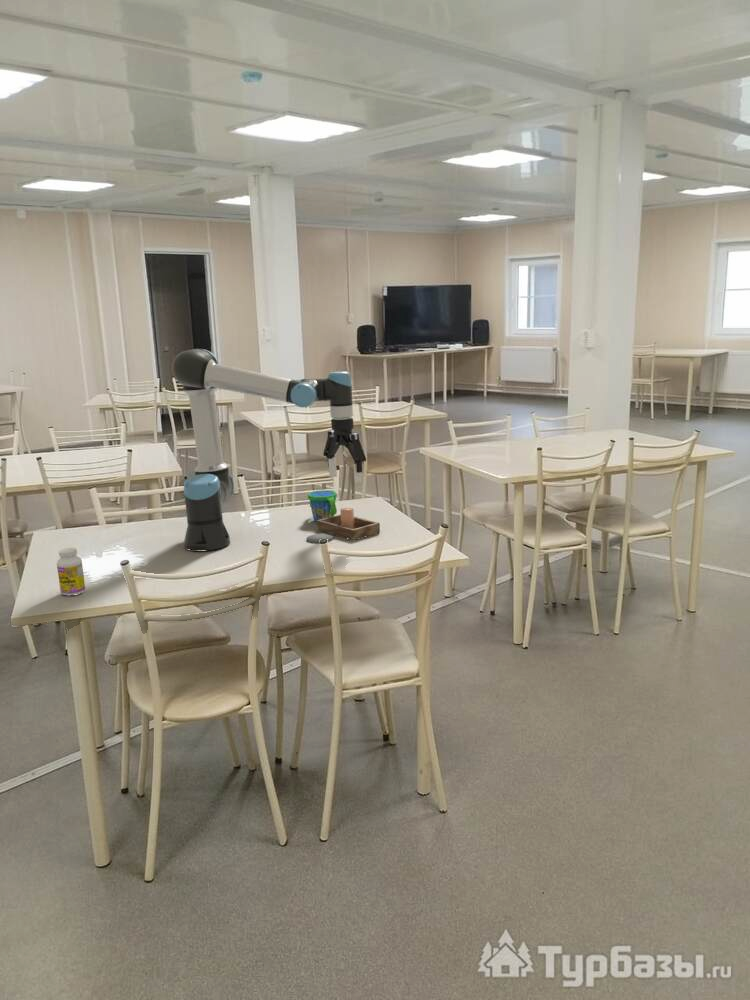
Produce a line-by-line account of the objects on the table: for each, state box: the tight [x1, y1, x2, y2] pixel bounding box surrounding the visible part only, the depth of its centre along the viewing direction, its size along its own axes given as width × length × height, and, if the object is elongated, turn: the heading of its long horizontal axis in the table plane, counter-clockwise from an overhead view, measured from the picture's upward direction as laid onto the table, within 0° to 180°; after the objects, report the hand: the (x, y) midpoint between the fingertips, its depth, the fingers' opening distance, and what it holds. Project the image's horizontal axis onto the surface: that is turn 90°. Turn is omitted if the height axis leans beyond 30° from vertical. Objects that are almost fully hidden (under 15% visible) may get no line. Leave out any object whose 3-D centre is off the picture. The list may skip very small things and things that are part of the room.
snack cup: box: [307, 489, 338, 522], centre depth 284 cm, size 16×10×10 cm
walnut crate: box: [316, 513, 381, 541], centre depth 269 cm, size 12×20×4 cm, turn 42°
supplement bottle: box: [56, 547, 86, 596], centre depth 218 cm, size 7×7×13 cm
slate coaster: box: [306, 533, 334, 544], centre depth 261 cm, size 9×9×1 cm
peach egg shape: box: [340, 507, 356, 529], centre depth 268 cm, size 5×5×8 cm
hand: (345, 479), depth 265 cm, fingers open, 13 cm apart
